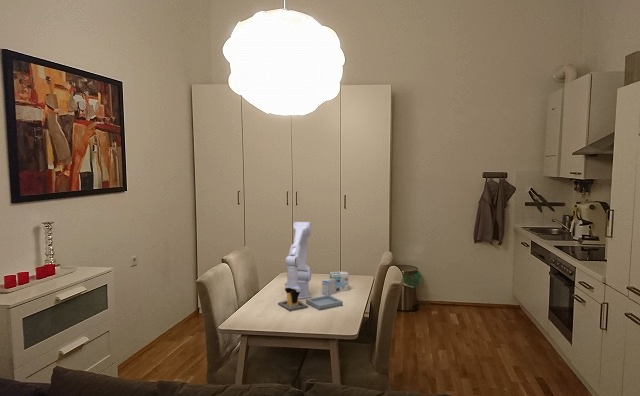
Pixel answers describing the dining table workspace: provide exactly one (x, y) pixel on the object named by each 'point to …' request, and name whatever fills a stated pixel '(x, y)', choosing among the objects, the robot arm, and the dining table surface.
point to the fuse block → (289, 301)
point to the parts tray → (324, 302)
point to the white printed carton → (340, 280)
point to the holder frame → (302, 306)
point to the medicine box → (328, 286)
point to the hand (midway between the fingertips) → (292, 301)
